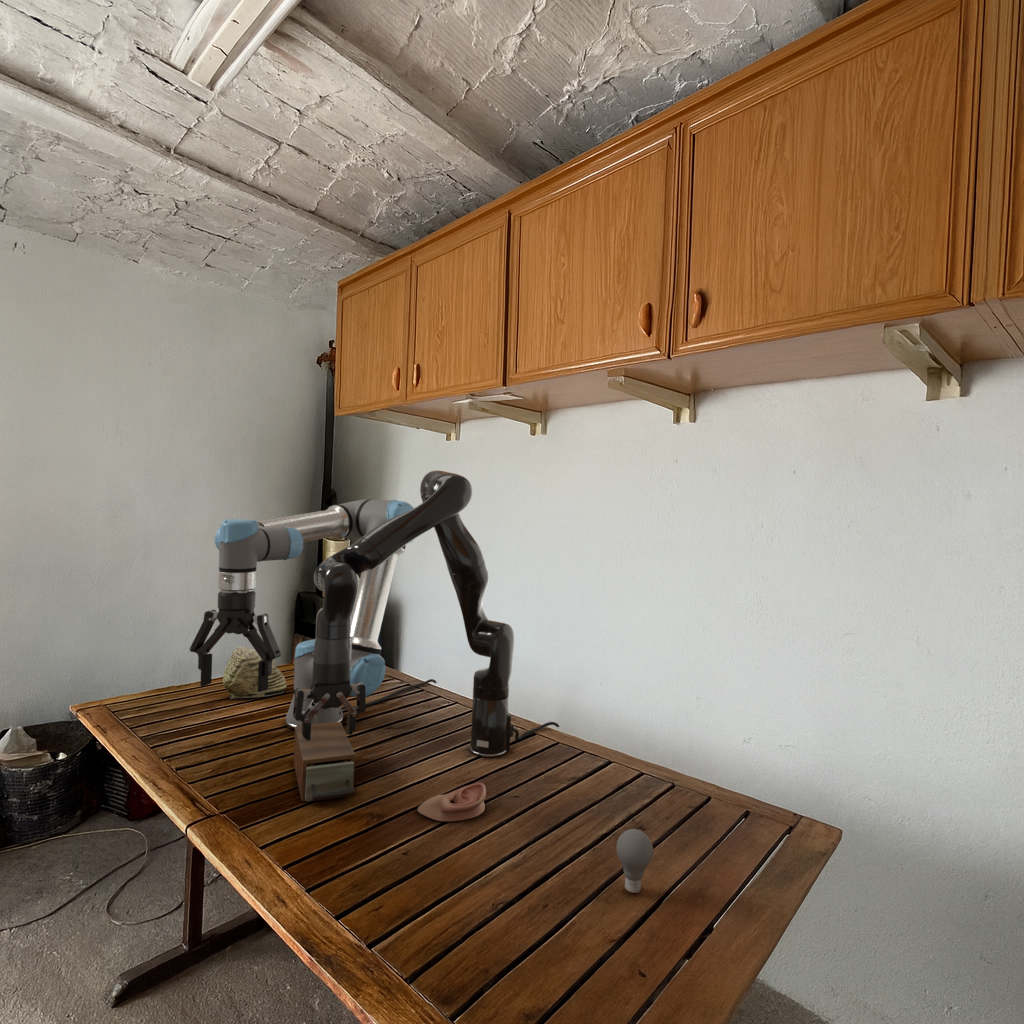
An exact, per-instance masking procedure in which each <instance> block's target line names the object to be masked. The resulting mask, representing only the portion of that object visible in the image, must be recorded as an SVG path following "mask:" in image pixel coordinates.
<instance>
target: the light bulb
mask: <svg viewBox="0 0 1024 1024" xmlns="http://www.w3.org/2000/svg"><path fill="white" fill-rule="evenodd" d="M615 849H616V854H617V857H618V859H619V861H620V863H621V865H622V867H623V873H624V874H623V875H624V876H625V878H624V888H625V890H627V891H628V892H630V893H634V894H635V893H639V892H640V891H641V889H642V887H641V886H642V879H643V877H644V875H645V871H646V868H647V867H648V866H649V864H650V863H651V861H652V859H653V855H654V847H653V843H652V841H651V838H649V836H648V835H647V834H646V833H645V832H643V831H642V830H641V829H636V828H629V829H627V830H625V831H623V832H622V833H621V834H620V835H619V837H618V839H617V841H616V847H615Z"/></svg>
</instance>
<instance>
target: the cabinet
mask: <svg viewBox="0 0 1024 1024" xmlns="http://www.w3.org/2000/svg"><path fill="white" fill-rule="evenodd" d="M293 738H294V740H293V766H294V771H295V776H296V781H297V786H298V792H299V796H300V800H301V801H300V802H307V801H306V800H305V792H306V767H307V764H312V763H321V762H329V761H337V760H346V759H348V762H351V761H353V763H354V768H355V767H356V766H355V765H356V763H355V762H356V753H355V751H354V748H353V747H352V744H351V742H350V739H349V737H348V734H347V732H346V730H345V729H344V726H343V724H342V723H341V722H333V723H322V724H312V725H311V739H310V740H309V741H306V739H305V738H304V737H303V736H302V726H295V730H294V737H293ZM354 787H355V770H354V771H353V788H354ZM354 789H355V788H354Z"/></svg>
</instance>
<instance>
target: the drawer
mask: <svg viewBox="0 0 1024 1024" xmlns="http://www.w3.org/2000/svg"><path fill="white" fill-rule="evenodd" d="M353 771H354V772H355V767H354V763H353V761H351V762H348V759H346V760H337V761H329V762H321V763H312V764H307V767H306V792H305V800H306V801H305V802H312V801H313V802H314V801H315V802H316V801H322V800H328V799H335V798H342V797H350V796H354V795H355V788H353Z"/></svg>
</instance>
